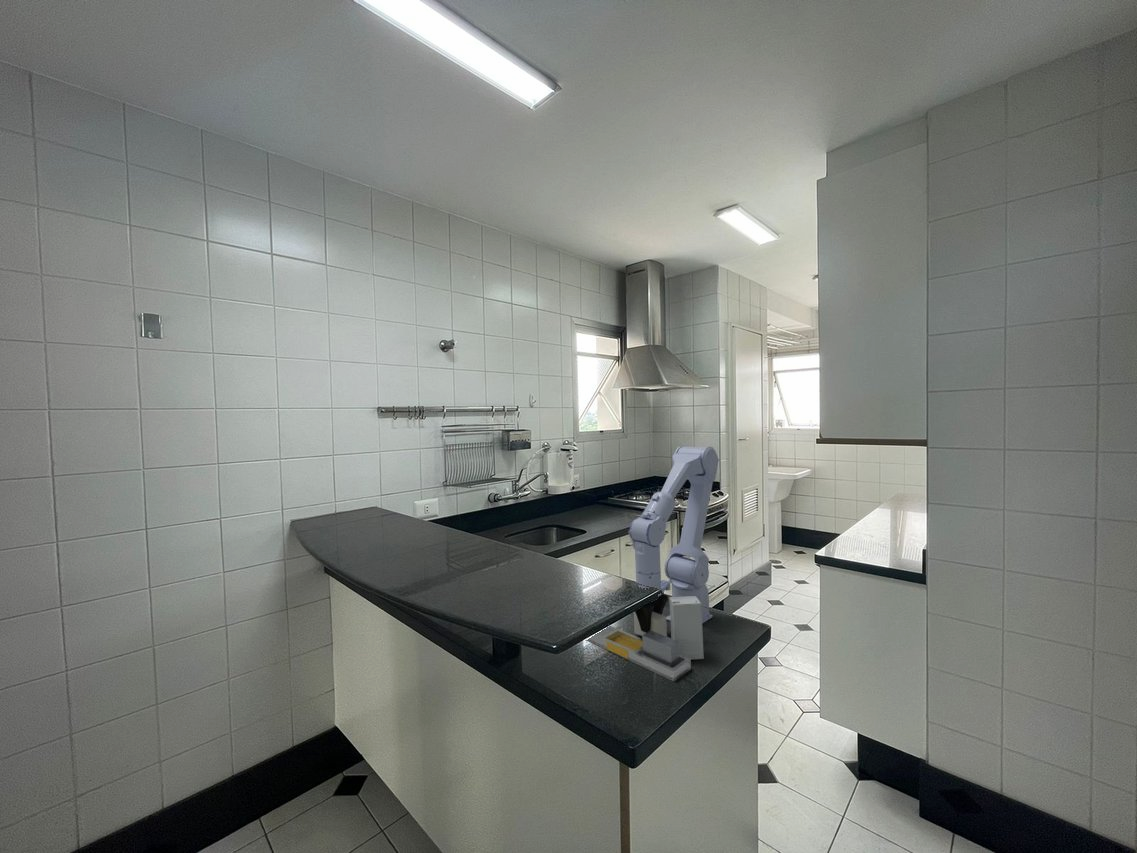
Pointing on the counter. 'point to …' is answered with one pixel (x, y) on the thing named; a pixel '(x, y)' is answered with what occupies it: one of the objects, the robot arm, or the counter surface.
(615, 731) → the counter surface
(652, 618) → the tall white prism
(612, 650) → the tray
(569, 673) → the counter surface
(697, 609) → the skincare box
